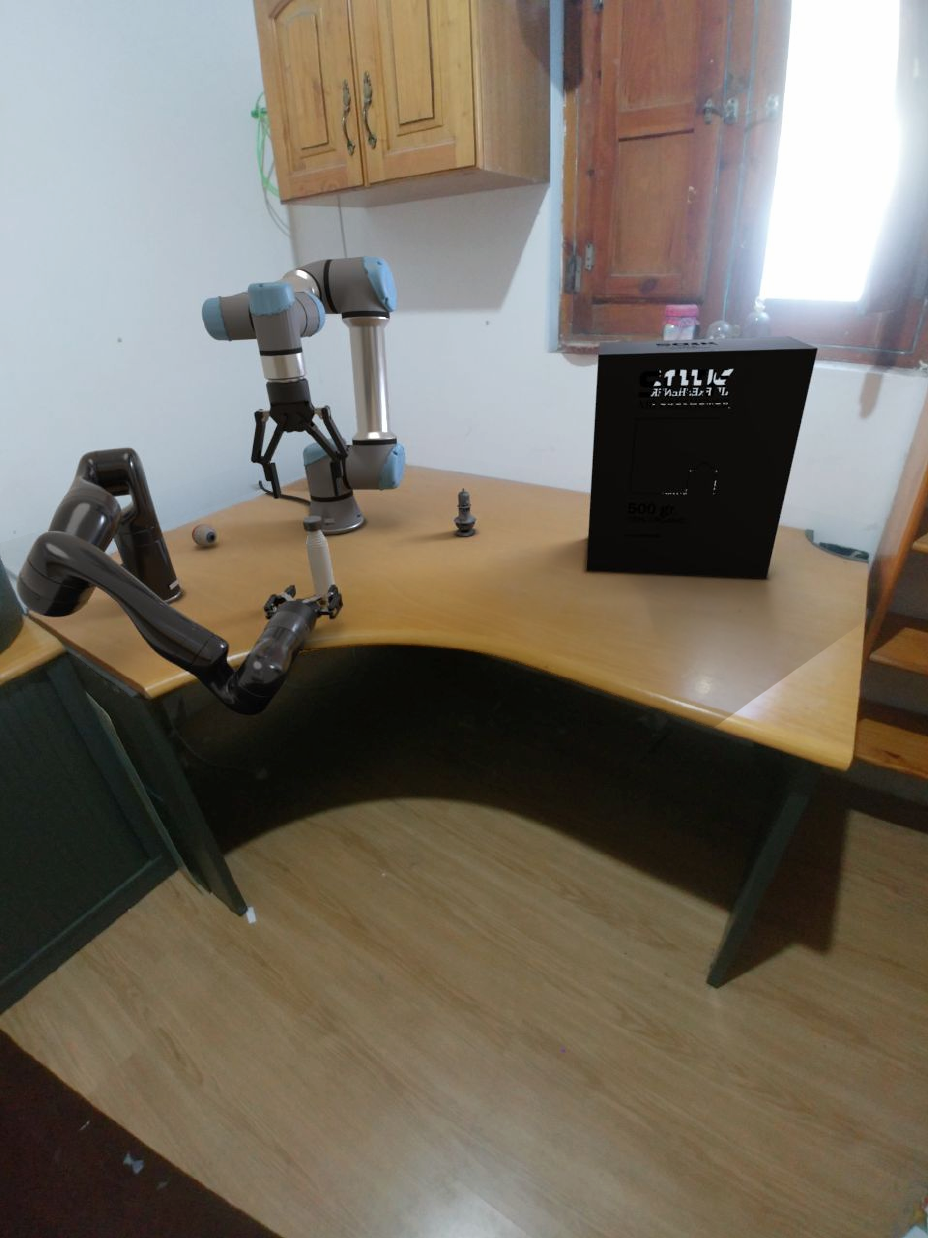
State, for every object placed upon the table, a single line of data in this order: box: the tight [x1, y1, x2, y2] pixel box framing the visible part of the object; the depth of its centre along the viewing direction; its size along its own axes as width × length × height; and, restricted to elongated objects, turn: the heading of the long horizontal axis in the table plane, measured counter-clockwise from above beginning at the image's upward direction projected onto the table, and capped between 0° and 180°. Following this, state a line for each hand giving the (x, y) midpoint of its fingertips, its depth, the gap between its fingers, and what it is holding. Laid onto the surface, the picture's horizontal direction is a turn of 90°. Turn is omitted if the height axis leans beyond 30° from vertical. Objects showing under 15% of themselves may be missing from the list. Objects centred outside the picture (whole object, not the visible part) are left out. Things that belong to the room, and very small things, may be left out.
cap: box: [302, 516, 323, 533], centre depth 123 cm, size 4×4×2 cm
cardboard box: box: [585, 335, 819, 580], centre depth 129 cm, size 38×20×45 cm, turn 78°
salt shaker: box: [453, 487, 477, 537], centre depth 157 cm, size 6×6×12 cm
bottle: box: [305, 530, 336, 602], centre depth 127 cm, size 4×4×18 cm
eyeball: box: [191, 523, 218, 548], centre depth 159 cm, size 6×6×6 cm
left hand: (314, 588), depth 123 cm, fingers open, 8 cm apart
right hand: (308, 495), depth 120 cm, fingers open, 11 cm apart
